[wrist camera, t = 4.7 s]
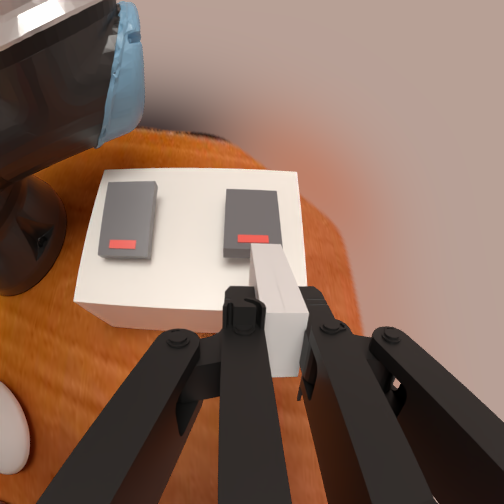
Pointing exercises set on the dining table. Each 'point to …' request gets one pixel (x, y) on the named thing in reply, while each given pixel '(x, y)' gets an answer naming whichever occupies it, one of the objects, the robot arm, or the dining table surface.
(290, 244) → the switch box
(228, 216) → the rocker outer
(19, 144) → the robot arm
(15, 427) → the flower in vase
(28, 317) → the dining table surface
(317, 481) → the dining table surface
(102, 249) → the block
